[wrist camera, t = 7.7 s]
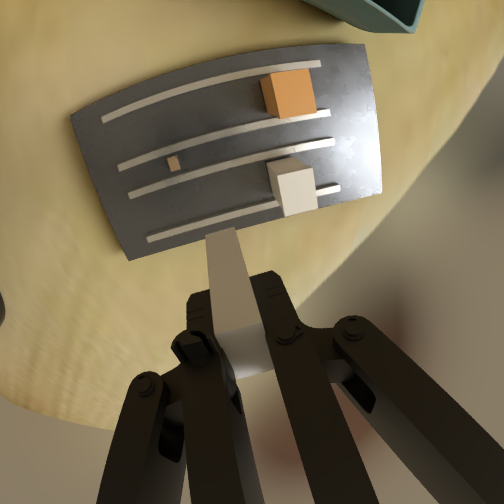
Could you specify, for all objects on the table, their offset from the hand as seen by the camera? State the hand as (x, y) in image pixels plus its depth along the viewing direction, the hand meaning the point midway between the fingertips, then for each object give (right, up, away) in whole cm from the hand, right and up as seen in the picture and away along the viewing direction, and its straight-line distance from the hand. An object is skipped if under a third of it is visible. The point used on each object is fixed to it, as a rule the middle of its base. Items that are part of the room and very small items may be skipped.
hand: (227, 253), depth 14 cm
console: (0, +10, +9) cm, 13 cm away
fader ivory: (+4, +6, +9) cm, 12 cm away
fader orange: (+3, +12, +5) cm, 14 cm away
